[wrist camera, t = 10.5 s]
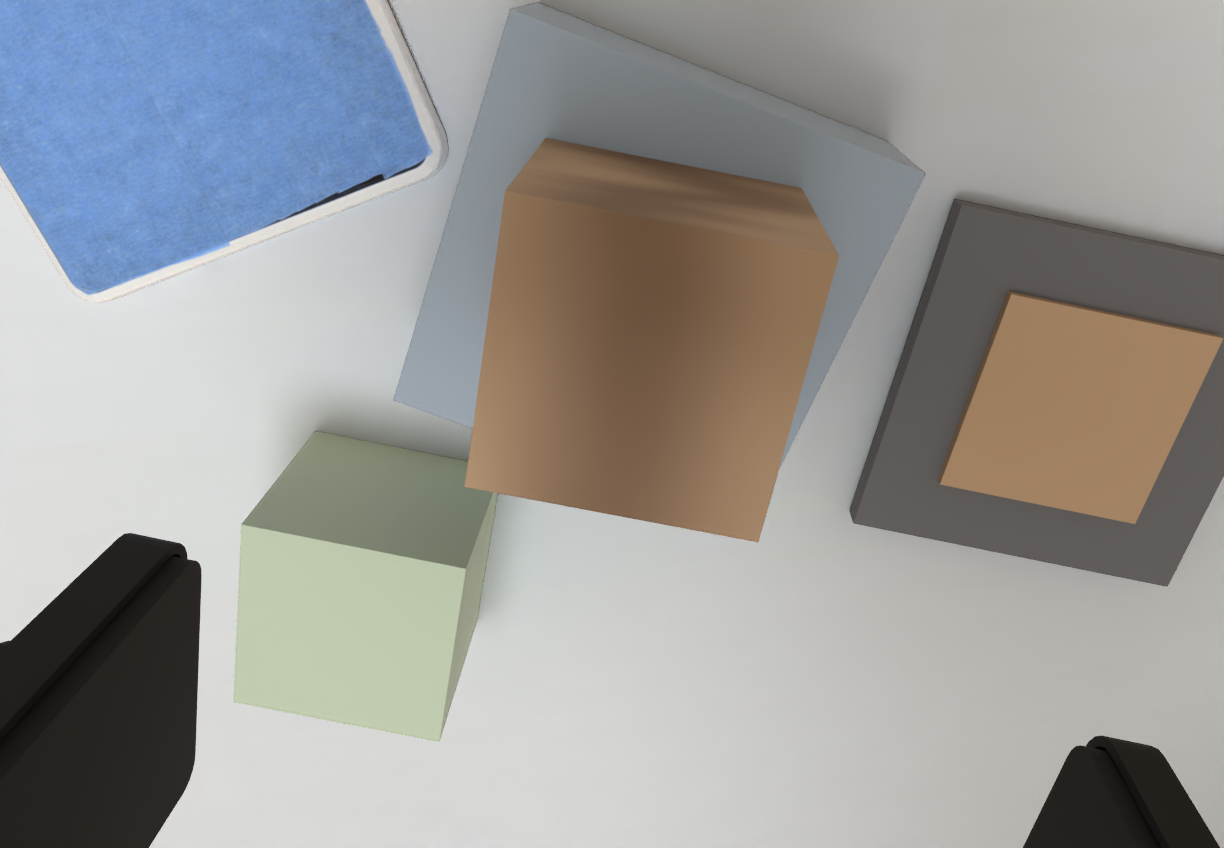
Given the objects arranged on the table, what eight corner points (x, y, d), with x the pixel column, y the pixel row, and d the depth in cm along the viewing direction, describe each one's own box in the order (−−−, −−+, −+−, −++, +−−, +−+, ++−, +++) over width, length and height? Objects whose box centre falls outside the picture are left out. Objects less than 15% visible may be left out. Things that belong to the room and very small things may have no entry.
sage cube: (502, 467, 32) (466, 569, 27) (477, 619, 35) (439, 741, 29) (316, 430, 32) (241, 524, 27) (304, 585, 35) (233, 701, 29)
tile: (1306, 272, 28) (1329, 284, 27) (1156, 572, 32) (1171, 592, 31) (954, 198, 28) (964, 207, 27) (849, 510, 32) (855, 528, 31)
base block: (885, 139, 28) (925, 173, 23) (740, 446, 32) (750, 527, 27) (539, 1, 27) (510, 9, 22) (435, 336, 31) (393, 400, 26)
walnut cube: (801, 188, 23) (838, 255, 18) (740, 420, 26) (758, 541, 20) (545, 137, 23) (505, 190, 18) (510, 375, 26) (464, 486, 20)
